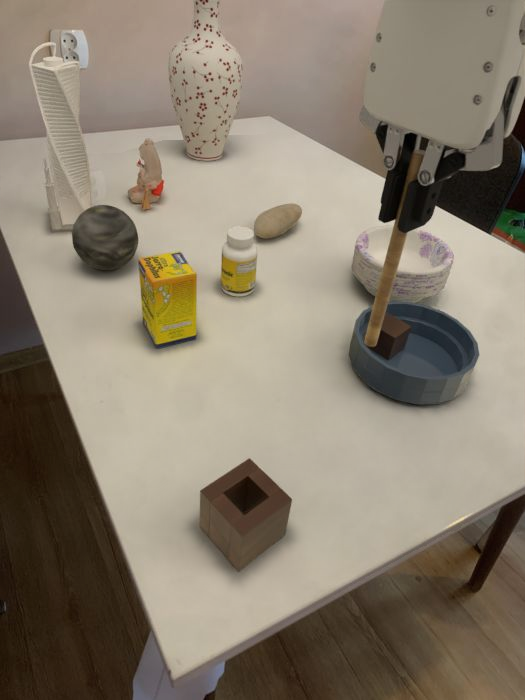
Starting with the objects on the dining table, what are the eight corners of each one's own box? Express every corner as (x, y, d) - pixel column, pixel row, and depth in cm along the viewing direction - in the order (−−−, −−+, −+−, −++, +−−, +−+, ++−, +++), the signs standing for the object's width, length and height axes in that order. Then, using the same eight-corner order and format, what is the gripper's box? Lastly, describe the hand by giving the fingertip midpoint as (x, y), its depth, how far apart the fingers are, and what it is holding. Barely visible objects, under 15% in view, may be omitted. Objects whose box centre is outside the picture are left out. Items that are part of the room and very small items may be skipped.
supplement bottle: (216, 281, 86) (217, 225, 80) (248, 276, 88) (252, 222, 82) (226, 299, 83) (229, 243, 76) (259, 295, 84) (264, 239, 78)
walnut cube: (404, 348, 76) (411, 326, 73) (388, 360, 74) (395, 338, 71) (381, 334, 78) (387, 312, 75) (364, 346, 76) (370, 323, 73)
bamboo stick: (379, 344, 51) (432, 153, 39) (370, 348, 50) (423, 156, 38) (369, 337, 51) (419, 148, 40) (361, 342, 51) (409, 151, 39)
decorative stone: (92, 246, 91) (84, 190, 85) (148, 255, 91) (145, 199, 84) (65, 276, 84) (54, 217, 77) (127, 287, 83) (121, 228, 77)
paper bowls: (331, 270, 92) (339, 228, 87) (407, 259, 97) (418, 219, 92) (376, 323, 81) (389, 278, 76) (458, 308, 86) (475, 265, 81)
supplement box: (142, 324, 76) (136, 257, 69) (181, 315, 79) (180, 249, 72) (155, 350, 72) (151, 281, 65) (197, 339, 75) (197, 272, 68)
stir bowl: (488, 372, 74) (502, 345, 71) (420, 427, 66) (432, 398, 62) (395, 315, 83) (403, 288, 80) (324, 357, 74) (330, 328, 71)
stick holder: (285, 534, 53) (292, 499, 49) (238, 571, 50) (242, 536, 46) (245, 494, 56) (249, 457, 52) (199, 526, 53) (199, 490, 49)
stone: (242, 226, 96) (274, 186, 101) (255, 254, 100) (284, 214, 106) (269, 226, 92) (300, 185, 98) (281, 255, 96) (310, 214, 102)
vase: (198, 172, 119) (198, -18, 96) (156, 149, 127) (148, -31, 105) (252, 158, 128) (265, -19, 105) (210, 137, 136) (213, -31, 114)
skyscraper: (52, 210, 100) (21, 39, 82) (97, 208, 102) (77, 41, 84) (51, 232, 94) (18, 53, 76) (100, 229, 96) (78, 54, 78)
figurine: (126, 190, 109) (131, 129, 102) (160, 195, 111) (167, 135, 104) (127, 209, 102) (133, 144, 95) (163, 213, 104) (171, 150, 97)
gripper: (644, -53, 29) (514, 251, 41) (412, -79, 37) (360, 179, 49) (584, -58, 25) (458, 281, 36) (338, -86, 33) (301, 197, 45)
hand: (402, 221), depth 43 cm, fingers closed on bamboo stick, 1 cm apart
